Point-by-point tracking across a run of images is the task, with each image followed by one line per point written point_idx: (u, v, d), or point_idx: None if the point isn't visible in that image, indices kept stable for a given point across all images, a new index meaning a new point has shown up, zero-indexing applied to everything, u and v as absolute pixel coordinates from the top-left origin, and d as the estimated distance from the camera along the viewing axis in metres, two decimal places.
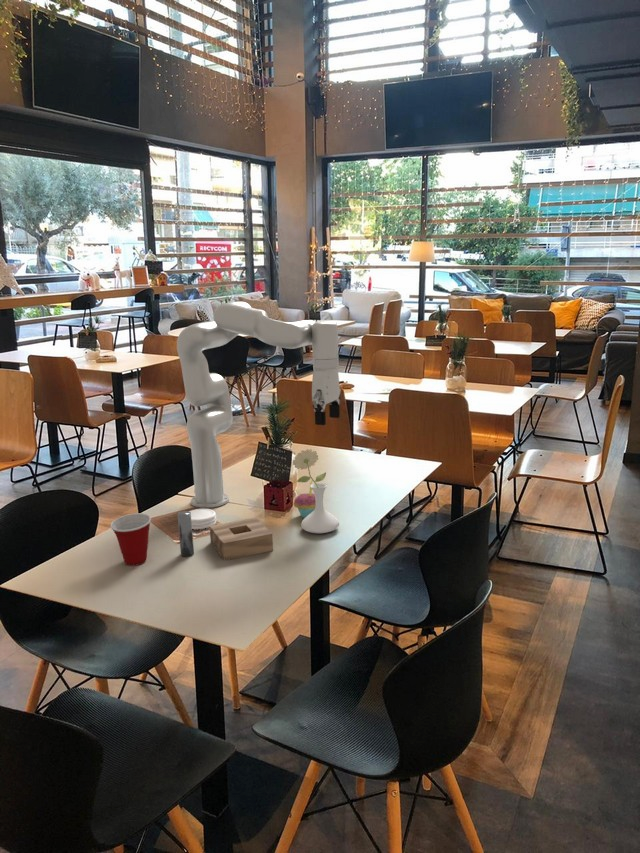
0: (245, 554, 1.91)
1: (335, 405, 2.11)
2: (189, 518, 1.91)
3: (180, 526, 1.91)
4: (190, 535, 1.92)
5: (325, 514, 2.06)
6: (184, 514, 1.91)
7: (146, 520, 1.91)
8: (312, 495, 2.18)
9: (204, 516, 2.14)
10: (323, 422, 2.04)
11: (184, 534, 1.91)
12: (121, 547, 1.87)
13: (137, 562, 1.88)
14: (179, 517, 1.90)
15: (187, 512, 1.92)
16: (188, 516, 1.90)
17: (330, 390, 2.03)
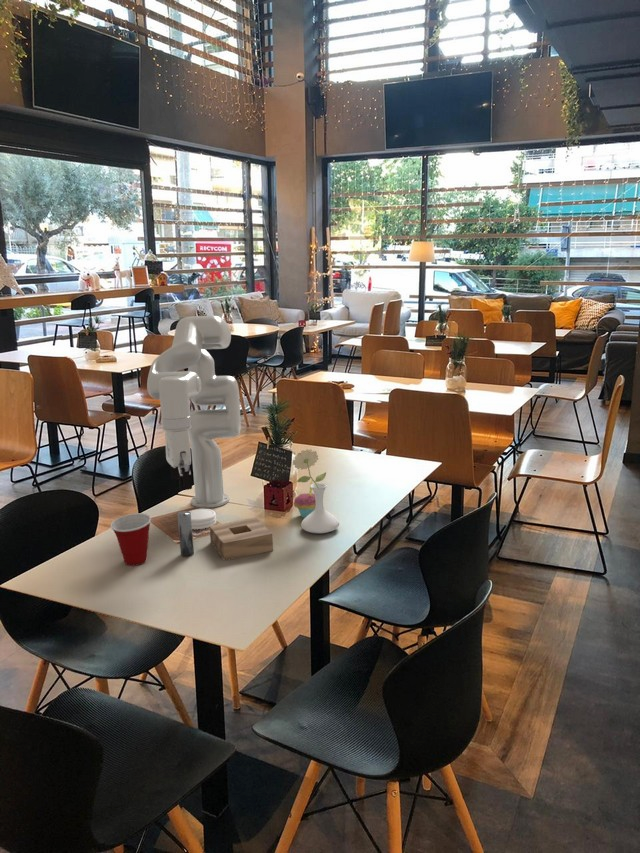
0: (245, 554, 1.91)
1: None
2: (189, 518, 1.91)
3: (180, 526, 1.91)
4: (190, 535, 1.92)
5: (325, 514, 2.06)
6: (184, 514, 1.91)
7: (146, 520, 1.91)
8: (312, 495, 2.18)
9: (204, 516, 2.14)
10: (190, 486, 1.85)
11: (184, 534, 1.91)
12: (121, 547, 1.87)
13: (137, 562, 1.88)
14: (179, 517, 1.90)
15: (187, 512, 1.92)
16: (188, 516, 1.90)
17: None
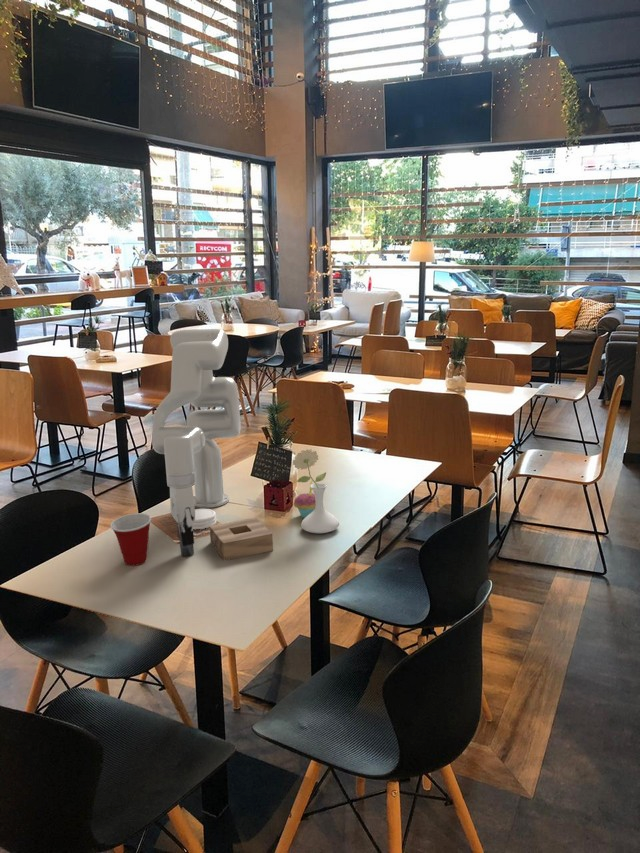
0: (245, 554, 1.91)
1: None
2: None
3: (180, 526, 1.91)
4: None
5: (325, 514, 2.06)
6: None
7: (146, 520, 1.91)
8: (312, 495, 2.18)
9: (204, 516, 2.14)
10: (192, 541, 1.91)
11: None
12: (121, 547, 1.87)
13: (137, 562, 1.88)
14: None
15: None
16: None
17: None
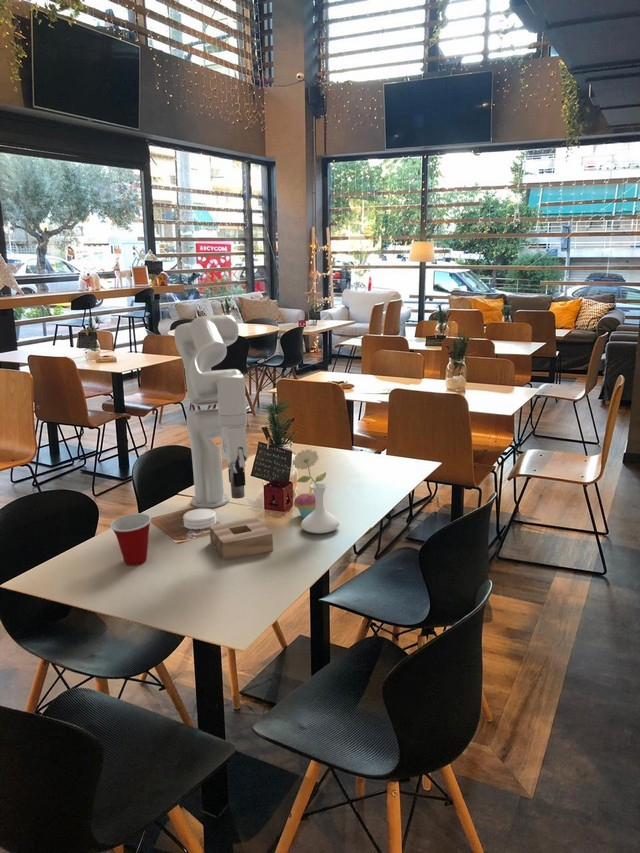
0: (245, 554, 1.91)
1: None
2: None
3: (232, 467, 1.91)
4: None
5: (325, 514, 2.06)
6: None
7: (146, 520, 1.91)
8: (312, 495, 2.18)
9: (204, 516, 2.14)
10: (243, 483, 1.92)
11: None
12: (121, 547, 1.87)
13: (137, 562, 1.88)
14: None
15: None
16: None
17: None
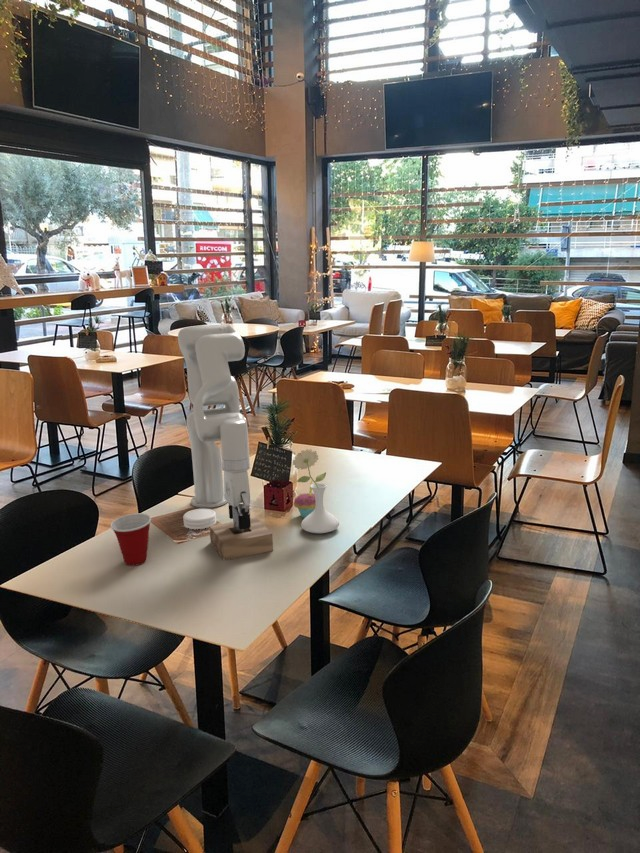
0: (245, 554, 1.91)
1: None
2: None
3: (235, 519, 1.95)
4: None
5: (325, 514, 2.06)
6: None
7: (146, 520, 1.91)
8: (312, 495, 2.18)
9: (204, 516, 2.14)
10: (248, 525, 1.93)
11: None
12: (121, 547, 1.87)
13: (137, 562, 1.88)
14: (234, 510, 1.94)
15: None
16: None
17: None
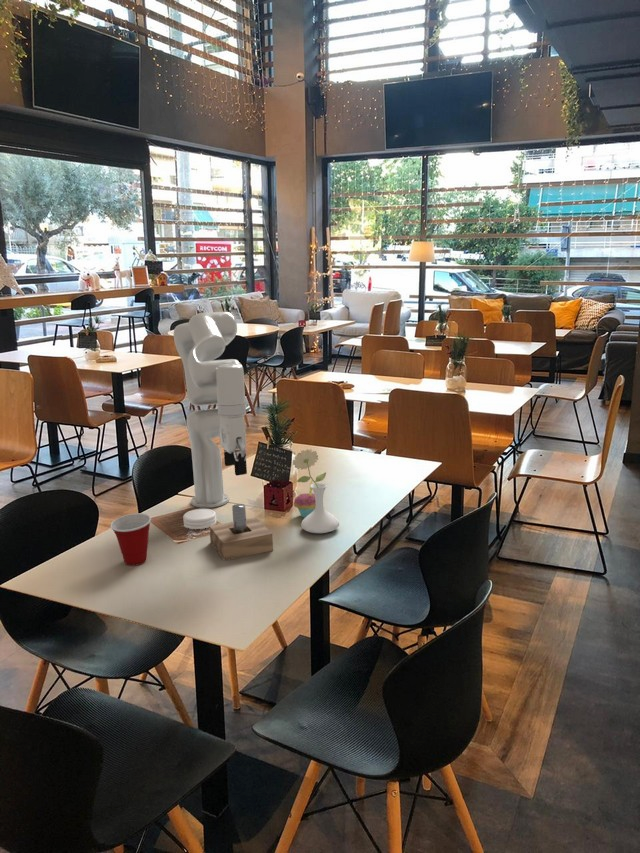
0: (245, 554, 1.91)
1: (232, 452, 1.97)
2: (244, 511, 1.95)
3: (235, 519, 1.95)
4: (244, 527, 1.96)
5: (325, 514, 2.06)
6: (238, 506, 1.95)
7: (146, 520, 1.91)
8: (312, 495, 2.18)
9: (204, 516, 2.14)
10: (245, 471, 1.90)
11: (239, 527, 1.95)
12: (121, 547, 1.87)
13: (137, 562, 1.88)
14: (234, 510, 1.94)
15: (241, 505, 1.96)
16: (243, 509, 1.94)
17: None
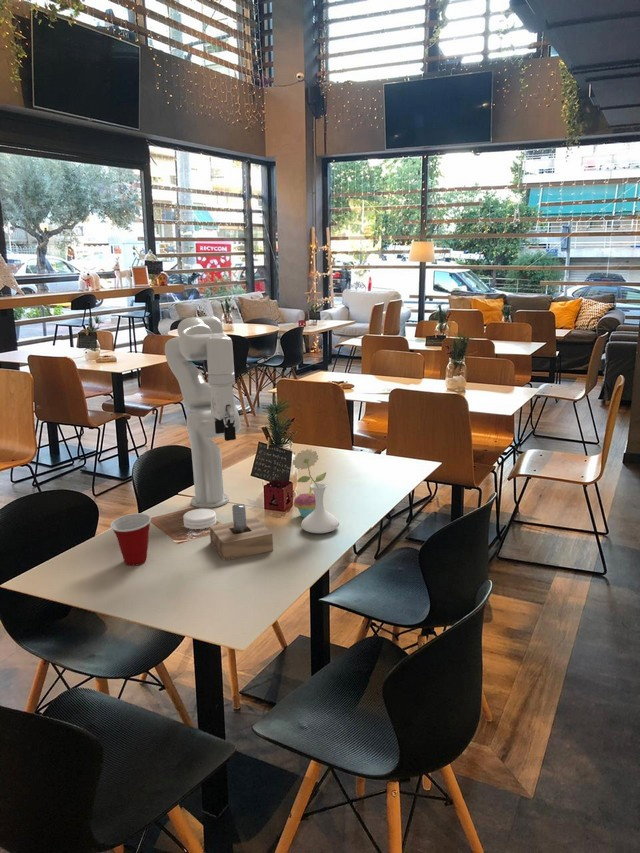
0: (245, 554, 1.91)
1: (222, 420, 2.10)
2: (244, 511, 1.95)
3: (235, 519, 1.95)
4: (244, 527, 1.96)
5: (325, 514, 2.06)
6: (238, 506, 1.95)
7: (146, 520, 1.91)
8: (312, 495, 2.18)
9: (204, 516, 2.14)
10: (234, 437, 2.02)
11: (239, 527, 1.95)
12: (121, 547, 1.87)
13: (137, 562, 1.88)
14: (234, 510, 1.94)
15: (241, 505, 1.96)
16: (243, 509, 1.94)
17: None
